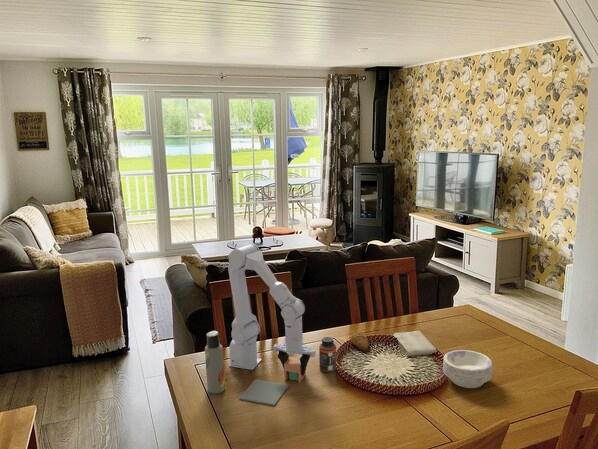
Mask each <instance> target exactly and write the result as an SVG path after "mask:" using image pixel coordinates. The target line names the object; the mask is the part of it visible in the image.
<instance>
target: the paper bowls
mask: <svg viewBox="0 0 598 449" xmlns="http://www.w3.org/2000/svg"><path fill="white" fill-rule="evenodd" d="M442 365H443V366H442V367H443V368H442V371H443V373H444V375H445V376H446V377H447V378H449V379H450V380H451V382H453V384H455V385H456V386H459V387H461V388H464V389H465V388H466V389H477V388H480V387H481V386H483V385H484V383H487V382H490V380H491V379H492V377H493V361H492V359H490V358H489V357H488V356H487V355H485V354H484V353H480V352H479V351H478V352H477V351H473V350H468V349H467V350H466V349H458V350H457V349H456V350H452V351H449V352H447V353H445V354H444V356H443V364H442Z"/></svg>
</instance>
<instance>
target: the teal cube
mask: <svg viewBox="0 0 598 449" xmlns="http://www.w3.org/2000/svg"><path fill="white" fill-rule="evenodd" d="M288 379H289V380H292V381H298V373H295V372H289V377H288Z"/></svg>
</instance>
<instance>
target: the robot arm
mask: <svg viewBox="0 0 598 449" xmlns="http://www.w3.org/2000/svg"><path fill="white" fill-rule="evenodd" d="M263 255H264V254H263V252H262V251H261V250H260V248H259V247H258V245H256V244H255V243H249V244H246V245H244V246H242V247H239V248H234V249H233V250H231V252H229V254H228V255H227V256H228V266H227V268H228V270H227V271H228V275H229V282H230V283H229V284H230V288H231V294H232V301H233V306H234V307H233V308H234V312H235V318H234V319H233V321H232V322H231V328H232V330H231V333H230V334H231V338H232V340H231V342H230V344H229V348H228V349H229V351H228V352H229V365H228V366H229V367H232V368H240V369H244V370H245V369H246V370H251V371H253V370H254V369H256V367H257V366H258V365H259V363H260V362H262V358H259V357H258V350H257V349H258V347H257V346H258V345H257V339H258V335H259V334H260V332H261V327H260V324H259V322H258V320H257V316H256V315H254V314H253V313H252V310H251V305H250V304H251V303H250V298H249V292H248V290H249V289H248V285H247V280H246V279H247V278H246V272H245V271H246V270H250V271H255V272H256V274H258V276H259V277H260V278H261V280H263V281H264V283H265V284H266V285H267V286H268V287H269V294H270V295H271V297H272V299H273V300H274V301H275V303H276V304H277V305H278V306H279V308H280V309H281V311H280V315H281V317H282V318H283V322H284V330H285V331H284V332H285V334H284V335H285V339H284V340H285V343H284V344H283V343H281V344H278V343H275V344H274V345H273V346H272V347H273V352H274V353H277V352H278V354H277V358H278V360H279V361H280V363H281V365H282V368H283V369H284V363H285V362H286V361H287V360H288V359H289V357H290V356H294V355H301V356H300V357H299V358H300V363H301V375H302V376H304V374H305V375H306V370H307V367H308V364H309V360H310V358H315V356H316V354H317V353H316V349H314V348H310V347H307V346H306V345H303V343H304V342H303V314H304V313H305V310H306V305H305V304H304V301H303V300H302V299H300V298H298V297H296V296H294V295H293V293H292V292H291V291H290V289H289V288H288V286H287V284H285V283H284V282H282V281H278V280H277V279H278V278H276V276H275V274H274V273H273V271H272V270H271V268H270V267H269V266H268V264H267V263H266V261H265V260H264V256H263ZM304 377H305V376H304Z"/></svg>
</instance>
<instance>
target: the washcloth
mask: <svg viewBox="0 0 598 449" xmlns="http://www.w3.org/2000/svg"><path fill="white" fill-rule="evenodd" d="M393 336H394V337H395V338H397V340H398V343H399V345H398V346H399V348H400V349H401V350H402V352H403V353H404V354H405V355H406V356H407V357H417V356H422V355H423V356H426V355H433V354H432V353H434V352H436V351H437V348H436V347H435V346H434V345H433V344H432V343H431V341H430V340H428V338H427V337H426V336H425V335H424V334H423V332H421V331H420V330H414V331H398V332H394V333H393V335H392V337H393ZM394 337H393V338H394Z"/></svg>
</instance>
